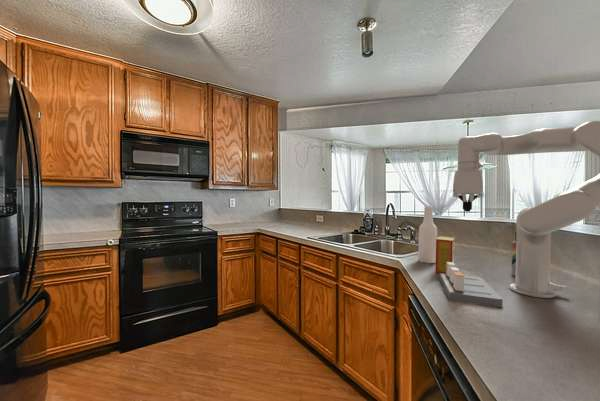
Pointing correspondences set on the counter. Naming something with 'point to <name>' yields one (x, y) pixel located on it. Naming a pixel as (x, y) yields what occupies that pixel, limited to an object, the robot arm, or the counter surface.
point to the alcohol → (427, 237)
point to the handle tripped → (458, 281)
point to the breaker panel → (471, 291)
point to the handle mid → (452, 270)
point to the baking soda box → (444, 253)
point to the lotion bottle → (514, 255)
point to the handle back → (449, 264)
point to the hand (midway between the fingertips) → (467, 211)
